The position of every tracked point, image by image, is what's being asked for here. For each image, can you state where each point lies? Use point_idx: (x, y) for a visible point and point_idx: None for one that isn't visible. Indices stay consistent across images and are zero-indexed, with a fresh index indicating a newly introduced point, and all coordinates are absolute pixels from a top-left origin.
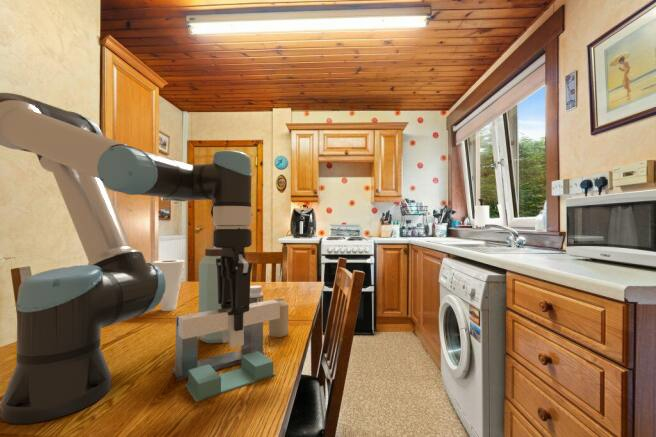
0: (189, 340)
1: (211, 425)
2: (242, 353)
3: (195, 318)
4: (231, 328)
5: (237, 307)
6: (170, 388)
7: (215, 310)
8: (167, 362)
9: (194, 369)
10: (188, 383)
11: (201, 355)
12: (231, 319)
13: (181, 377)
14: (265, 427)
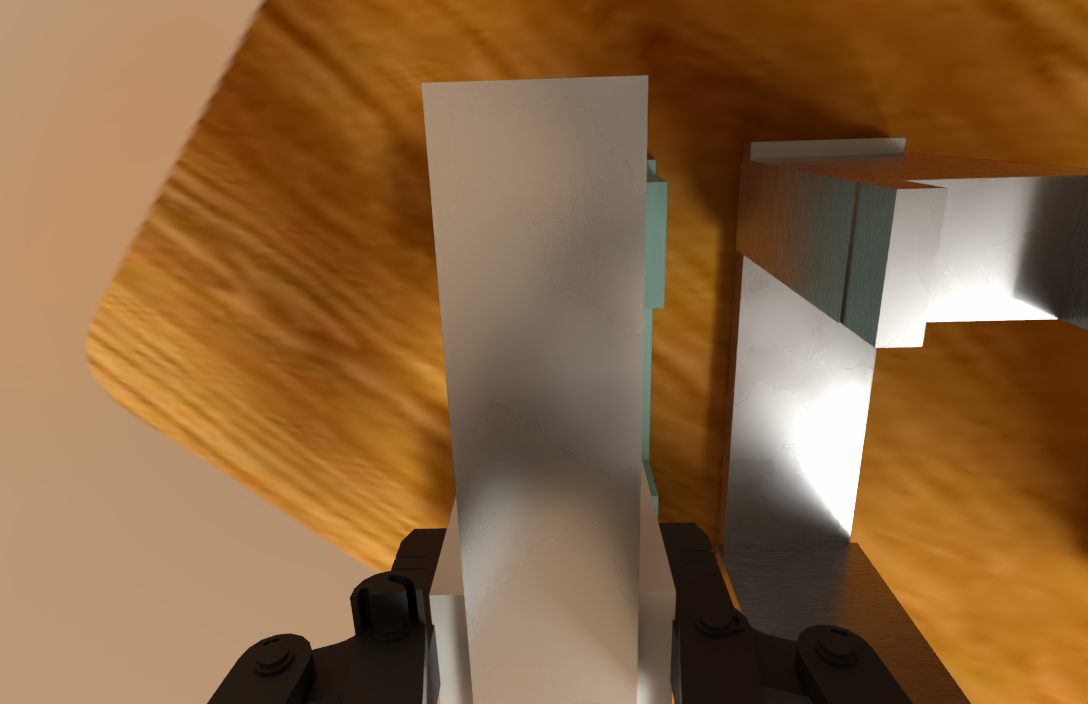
0: (811, 233)
1: (219, 173)
2: (789, 524)
3: (440, 248)
4: (451, 519)
5: (218, 692)
6: (686, 81)
7: (607, 518)
8: (1070, 134)
9: (648, 215)
10: (650, 175)
11: (1001, 340)
12: (436, 569)
13: (746, 157)
14: (104, 349)
